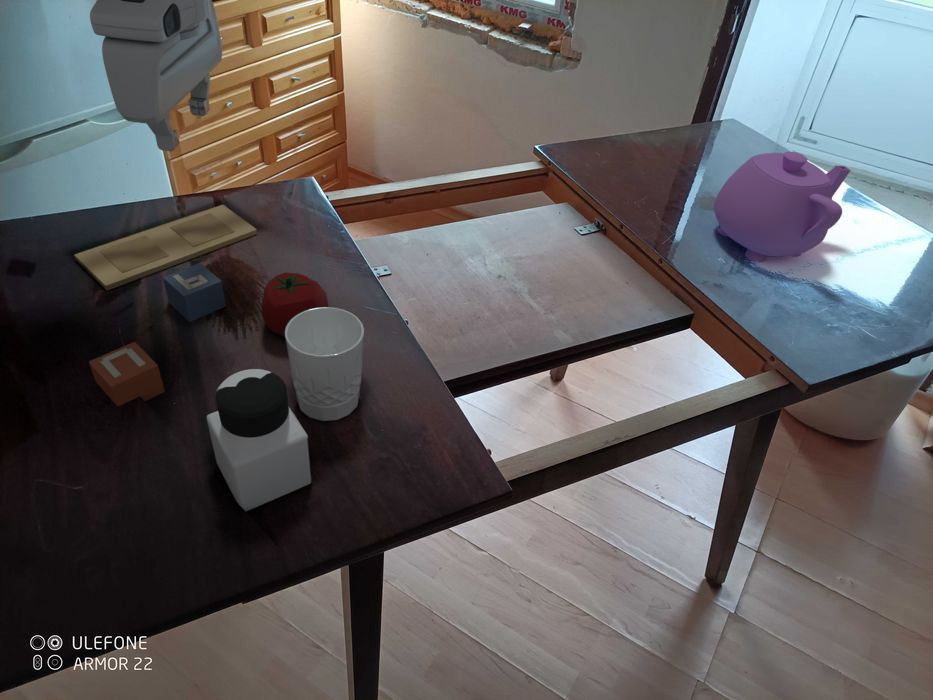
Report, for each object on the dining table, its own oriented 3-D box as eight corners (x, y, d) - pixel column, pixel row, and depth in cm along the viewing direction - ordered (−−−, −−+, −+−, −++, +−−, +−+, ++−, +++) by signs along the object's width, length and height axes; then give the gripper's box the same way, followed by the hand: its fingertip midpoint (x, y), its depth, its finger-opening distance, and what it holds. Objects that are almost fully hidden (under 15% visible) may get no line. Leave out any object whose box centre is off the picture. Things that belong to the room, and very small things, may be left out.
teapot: (865, 272, 107) (915, 185, 98) (763, 288, 101) (806, 197, 91) (783, 209, 121) (819, 127, 111) (688, 220, 115) (718, 135, 105)
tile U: (98, 388, 74) (88, 360, 72) (142, 368, 77) (134, 340, 74) (120, 413, 72) (110, 385, 69) (165, 391, 75) (157, 364, 72)
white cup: (300, 372, 79) (294, 303, 72) (369, 378, 79) (368, 310, 73) (284, 422, 73) (276, 352, 66) (358, 428, 73) (357, 359, 67)
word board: (75, 259, 91) (73, 253, 91) (223, 209, 104) (222, 203, 103) (107, 290, 87) (105, 285, 86) (257, 234, 100) (256, 228, 99)
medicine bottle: (313, 484, 67) (305, 398, 60) (242, 515, 64) (224, 428, 56) (284, 436, 72) (273, 350, 64) (216, 463, 68) (195, 375, 60)
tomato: (268, 350, 81) (262, 302, 76) (258, 310, 87) (251, 263, 82) (335, 339, 84) (333, 291, 79) (321, 300, 89) (318, 254, 85)
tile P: (168, 303, 86) (162, 276, 83) (205, 288, 89) (199, 262, 86) (189, 322, 84) (183, 295, 81) (226, 306, 87) (221, 280, 84)
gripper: (169, -33, 75) (191, 92, 84) (79, 21, 60) (117, 167, 69) (227, -26, 75) (242, 98, 85) (151, 29, 60) (179, 174, 69)
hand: (185, 130), depth 77 cm, fingers open, 8 cm apart
